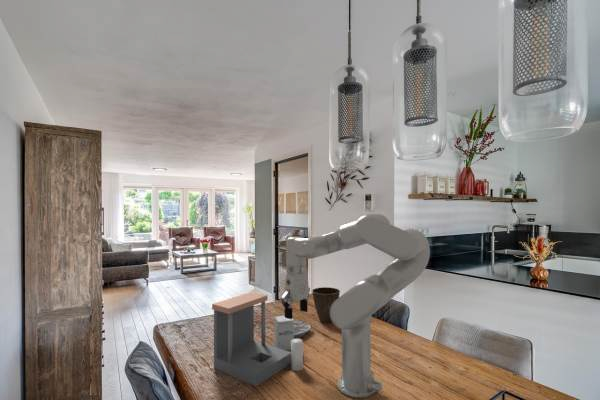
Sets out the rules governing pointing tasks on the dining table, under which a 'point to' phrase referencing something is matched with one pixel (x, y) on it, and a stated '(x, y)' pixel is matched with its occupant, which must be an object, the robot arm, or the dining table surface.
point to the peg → (296, 354)
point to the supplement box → (283, 332)
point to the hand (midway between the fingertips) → (296, 314)
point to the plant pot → (324, 302)
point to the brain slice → (300, 328)
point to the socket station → (244, 341)
